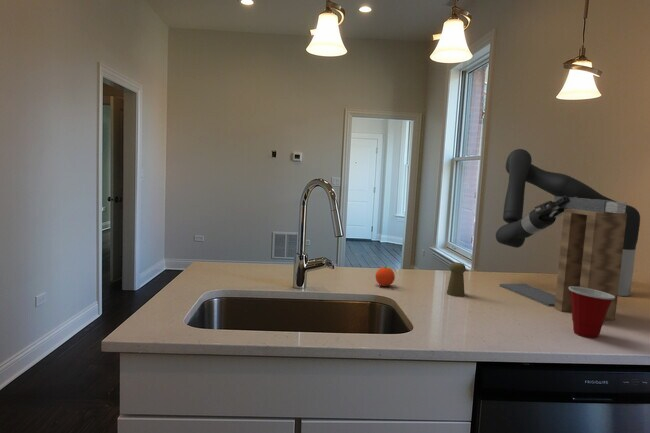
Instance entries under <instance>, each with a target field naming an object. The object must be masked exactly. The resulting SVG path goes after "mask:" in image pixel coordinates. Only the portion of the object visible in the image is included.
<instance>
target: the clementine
mask: <svg viewBox="0 0 650 433" xmlns="http://www.w3.org/2000/svg"><path fill="white" fill-rule="evenodd" d="M393 270H394V268H393V267H389V266H382V267H380V268H378V269H377V271H376V273H375V279H376V280H375V281H376V282H377V284H379V285H380V286H383V287H389V286H391V285H392V284H393V283H394V281H395V279H396V278H395V277H396V276H395V273H396V275H397V272H395V271H393Z"/></svg>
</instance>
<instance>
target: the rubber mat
mask: <svg viewBox="0 0 650 433" xmlns="http://www.w3.org/2000/svg"><path fill="white" fill-rule="evenodd" d="M499 287H501V288H503V289H506V290H507V291H511V292H513V293H516V294H518V295H521V296H523V297H525V298H528V299H530V300H533V301H535V302H537V303H539V304H542V305H544V306H547V307H555V297H556V294H553V293H551V292H549V291H546V290H542V289H540V288H537V287H535V286H532V285H530V284H527V283H499Z"/></svg>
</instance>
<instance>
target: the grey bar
mask: <svg viewBox="0 0 650 433" xmlns="http://www.w3.org/2000/svg"><path fill="white" fill-rule="evenodd" d="M553 196H554V195H553ZM560 198H562V197H557V196H554V198H553V201H555V200H559V199H560ZM568 199H569V202H567V203H566V204H564V205H562V206H560V207H559V208H568V209H577V210H586V211H594V212H603V213H625V210H626V205H627V202H622V201H620V202H619V201H617V202H615V201H616V200H614V201H609V200H597V199H585V198H573V197H568Z"/></svg>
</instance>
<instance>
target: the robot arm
mask: <svg viewBox="0 0 650 433" xmlns="http://www.w3.org/2000/svg"><path fill="white" fill-rule="evenodd" d="M532 161H533V160H532V156H531V154H530V152H528V150H526V149H522V148H518V149H514V150H512V151H511V152H510V153H509V154H508V156H507V158H506V162H505V170H506V172H507V174H508V185H507V190H506V193H505V194H506V195H505V199H504V205H503V212H502V213H503V214H502V219H503V221H504V222H505V223H506V224H503V225H502V226H500V227H499V228H498V229H497V230H496V232H495V239H496V241H497V242H498V243H499V244H501V245H504V246H508V247H512V248H521V247H522V246H523V245H524V243H525V241H526V239H527V238H530V237H532V236H533V235H535V234H537V233H539V232H541V231H543V230H544V229H546V228H549V227H551V226H552V225H553V224H554V223H555V221H556V219H557V218H558V217H560V216H562V215H564V209H568V208H559V207H560V206H562V205H564V204H566V203H567V202H569V199H568V197H573V198H585V199H597V200H609V201H615V202H618V201H616V200H614V199H611V198H609V197H607V196H605V195H603V194H601V193H600V192H598V191H597V190H596V189H594V188H592V187H590V186H589V185H587V184H586V183H584V182H582V181H581V180H578V179H576V178H574V177H572V176H570V175H568V174H565V173H559V172H554V171H553V172H552V171H548V170H545V169H542V168H539V167H538V166H536V165H534V164H532ZM526 183H528V184H532V185H534V186H535V187H537V188H539V189H541V190H543V191H545V192H546V193H549V194H550V195H552V196H557V197H562V198H560V199H559V200H555V201H554V200H553V201H552V200H548V201H546V202H544V203H541V204H538V205H536V206H534V209H533V210H531V211H530V212H528V213H527V214H525V215H524V216H523V213H524V205H525V204H524V202H525V193H526V192H525V190H526V189H525V188H526ZM625 213H626V214H627V218H626V227H625V235H624V244H623V253H622V262H621V271H620V279H619V288H618V297H629V296H631V292H632V285H633V284H632V283H633V277H634V269H635V268H634V267H635V266H634V265H635V258H636V249H637V244H638V239H639V232H640V224H641V214H640V212H639V210H638V209H637V208H635V207H634V206H632V205H629V204H626V210H625Z"/></svg>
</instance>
